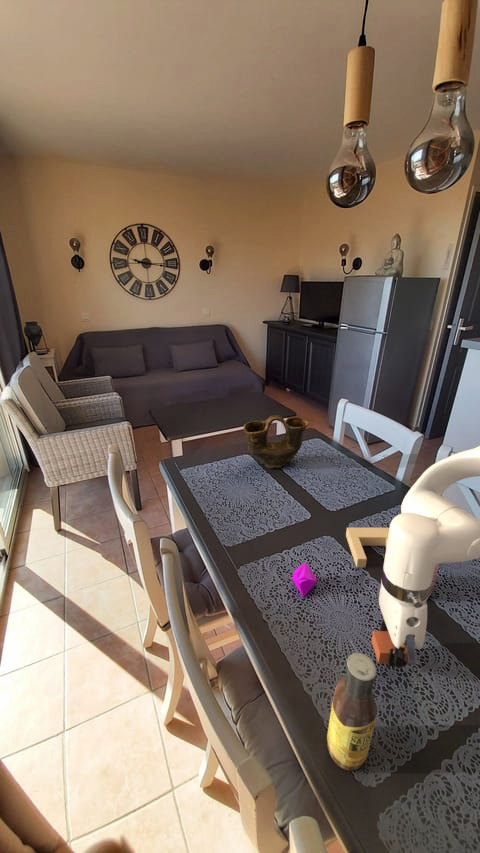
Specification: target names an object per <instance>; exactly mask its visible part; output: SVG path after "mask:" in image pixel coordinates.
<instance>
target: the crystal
mask: <svg viewBox="0 0 480 853" xmlns="http://www.w3.org/2000/svg"><path fill="white" fill-rule="evenodd" d="M291 580H292V582H293V583H294V585H295V587H296V588H297V590H298V591H299V593H300V595H301V596H302V597H303V598H305V597H306V596H307V594H309V592H310V591H311V590H312V589H313V588H314V587H315V585H317V583H318V579H317V578H316V576H315V574H314V572H313V571H312V569H311V568H310V566H309V564H308V563H307V561H305V562H303V563H302V564H301V565H299V566H298V567H297V568H296V569H295V570H294V572H293V575H292V578H291Z"/></svg>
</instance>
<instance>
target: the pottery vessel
mask: <svg viewBox="0 0 480 853" xmlns="http://www.w3.org/2000/svg"><path fill="white" fill-rule="evenodd" d="M275 421H278V422H280V423H281V424H282V425H283V427H284V430H285V433H284V434H285V435H284V437H283V439H282V440H273V441H272V440H270V439H268V432H269V430H270V426H271V425H273V422H275ZM309 425H310V422H309V421H307V419H306V420H305V419H303V418H301V417H290V418H286V419H284V418H283V416H281V415H278V414H275V415H270V416H269V417H268V418H267V419H266V420H258V419H256V420H253V421H249V422H246V423H245V424H243V428H242V429H243V432H244V433H245V437H246V441H247V450H248V453H249V455H251V456H252V457H254V458H256V459H258V460H259V462H260V464H261V465H263V464H264V467H266V468H267V469H281V467H283V466H284V465H287V464H290V462H291V461H292V460H293V459H294V458H296V455H297V454H298V453H299V452H300V449H301V447H302V445H303V439H302V438H303V435H304V432H305V431H306V429H307V428H308V426H309Z"/></svg>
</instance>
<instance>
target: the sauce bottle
mask: <svg viewBox="0 0 480 853" xmlns="http://www.w3.org/2000/svg"><path fill="white" fill-rule="evenodd" d="M377 670H378V669H377V666H376V664H375V662H374V661H373V659H372V658H371V657H369V656H368V655H367V654H364V653H361V652H354V653H351V654H350V655H349V656H348V657H347V658H346V664H345V675H344V677H342V678H340V679H339V680H338V681H337V683H336V686H335V688H334V694H333V696H332V702H331V708H330V714H329V720H328V728H327V734H326V741H327V743H326V745H327V750H328V753H329V755H330V757H331V759H332V760H333V762H334V763H335V764H336V766H338V767H339V768H341V769H343V770H345V771H349V772H350V771H355V770H359V769H360V768H361V767H362V766H363V764H364V763H365V761H366V760H367V757H368V754H369V751H370V750H369V749H370V746H371V741H372V738H373V732H374V729H375V724H376V720H377V714H378V707H377V704H376V700H375V697H374V693H373V692H374V691H373V686H374V684H375V682H376V679H377V673H378V672H377Z"/></svg>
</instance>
